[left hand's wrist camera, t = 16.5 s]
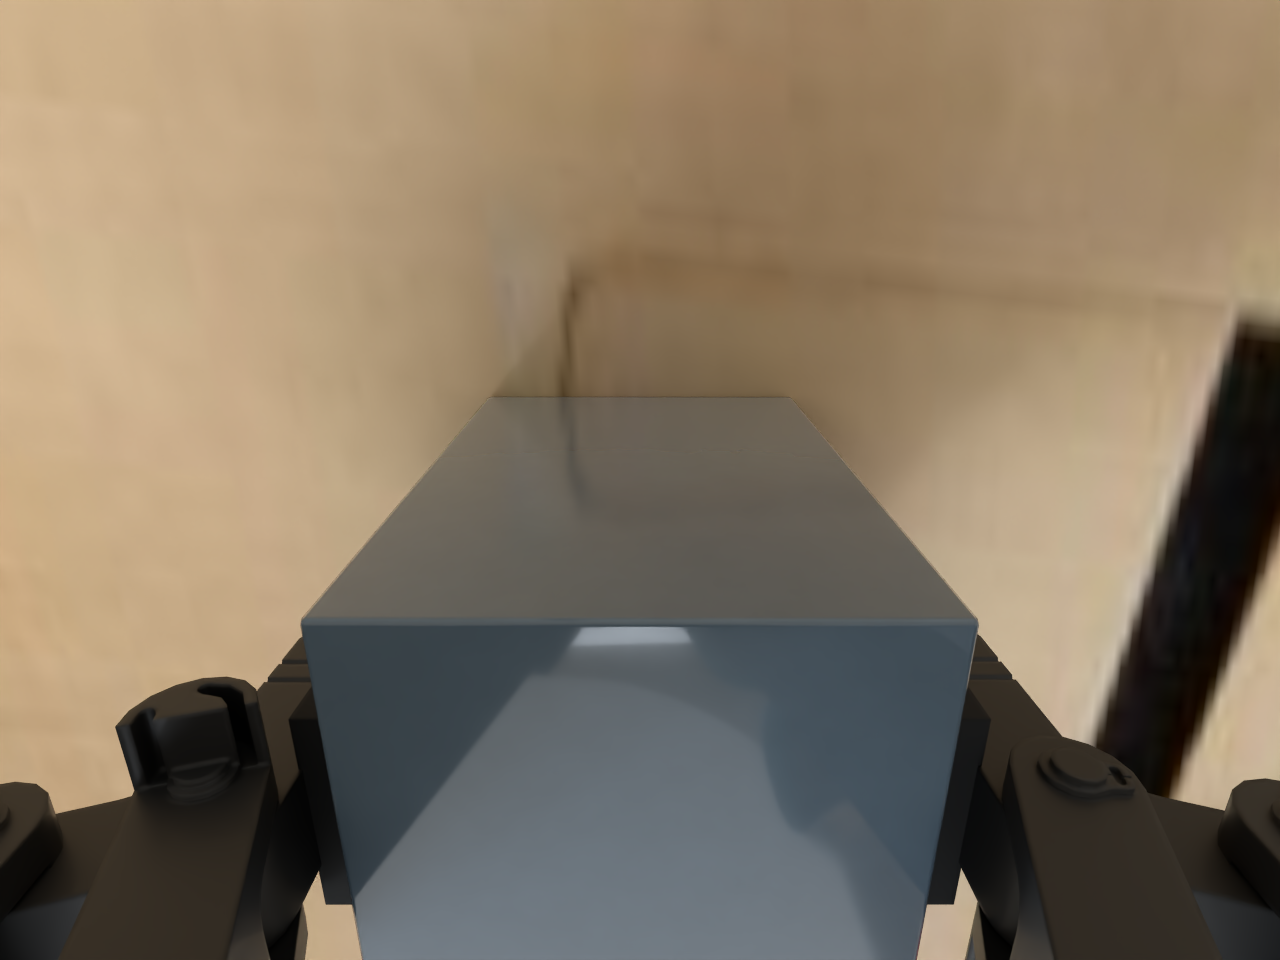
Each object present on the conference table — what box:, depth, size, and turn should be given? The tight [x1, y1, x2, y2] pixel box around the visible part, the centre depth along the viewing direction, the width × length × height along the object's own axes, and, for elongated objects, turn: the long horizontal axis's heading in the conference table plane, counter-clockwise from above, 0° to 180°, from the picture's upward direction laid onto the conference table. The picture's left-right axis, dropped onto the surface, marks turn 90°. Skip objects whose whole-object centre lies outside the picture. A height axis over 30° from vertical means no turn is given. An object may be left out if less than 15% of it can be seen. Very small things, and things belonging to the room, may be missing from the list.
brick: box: [301, 397, 979, 960], centre depth 11 cm, size 6×6×8 cm
